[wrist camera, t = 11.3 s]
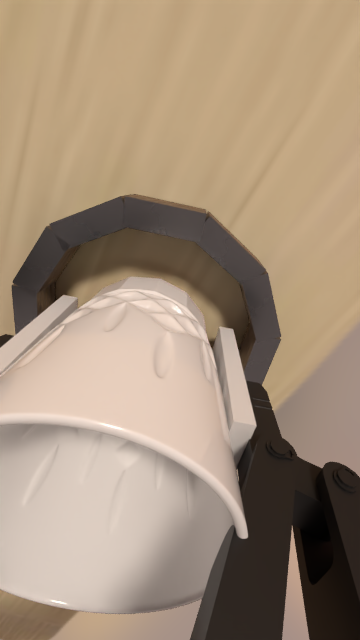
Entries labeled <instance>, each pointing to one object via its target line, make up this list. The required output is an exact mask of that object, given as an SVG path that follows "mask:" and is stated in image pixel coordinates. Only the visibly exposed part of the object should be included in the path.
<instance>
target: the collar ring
mask: <svg viewBox="0 0 360 640" xmlns="http://www.w3.org/2000/svg"><path fill="white" fill-rule="evenodd" d="M127 227H128V228H132V229H137V230H142V231H147V232H151V233H156V234H161V235H165V236H170V237H175V238H179V239H184V240H189V241H193V242H196V243H197V244H198V245H199V246H200V247H201V248H202V249H203V250H204V251H205V252H206V253H208V254H209V255H210V256H211V257H212V258H213V259H214V260H215V261H216V262H217V263H218V264H219V265H221V266H222V267H223V268H224V269H225V270H226V271H227V272H228V273H229V274H230V275H231V276H233V277H234V278H235V279H236V280H237V281H238V282H239V283H240V287H241V291H242V294H243V298H244V302H245V306H246V310H247V314H248V318H249V324H248V326H247V329H246V332H245V335H244V338H243V341H242V344H241V347H240V349H239V355H240V359H241V364H242V368H243V372H244V376H245V380H246V381H251V382H257V383H260V384H261V385H262V383H263V381H264V379H265V376H266V374H267V371H268V369H269V367H270V364H271V362H272V360H273V357H274V355H275V353H276V350H277V348H278V345H279V343H280V341H281V339H280V337H281V333H280V329H279V324H278V319H277V314H276V310H275V305H274V300H273V295H272V291H271V286H270V281H269V276H268V273H267V272H266V269H265V268H264V267H263V265H262V264H261V263H260V262H259V260H258V259H257V258H256V257H255V256H254V255H253V254H252V253H251V252H250V251H249V250H248V249H247V248H246V247H245V246H244V245H243V244H242V243H241V242H240V241H239V240H238V239H237V238H236V237H235V236H234V235H232V234H231V233H230V232H229V231H228V230H227V229H226V228H225V227H224V226H223V225H222V224H221V223H220V222H219V221H218V220H217V219H216V218H215V217H214V216H213V215H212V214H211V213H210V212H208V213H207V214H206V210H205V209H201V208H196V207H192V206H187V205H182V204H178V203H173V202H169V201H164V200H159V199H155V198H150V197H146V196H141V195H136V194H133V195H125V196H120V197H118V198H115V199H113V200H110V201H107V202H105V203H102V204H100V205H97V206H95V207H92V208H89V209H87V210H84V211H82V212H79V213H76V214H74V215H71V216H69V217H66V218H64V219H61V220H58V221H56V222H53V223H51V224H50V226H46V228H45V230H44V231H43V233H42V234H41V236H40V238H39V239H38V241H37V243H36V244H35V246H34V247H33V249H32V251H31V252H30V254H29V256H28V257H27V259H26V261H25V262H24V264H23V265H22V267H21V269H20V270H19V272H18V274H17V275H16V277H15V278H14V280H13V283H14V284H13V285H12V297H13V309H14V321H15V333H16V334H17V333H19V332H20V331H21V330H22V329H23V328H25V327H26V326H27V325H28V324H29V323H30V322H32V321H33V320H34V319H35V318H36V317H38V316H39V315H40V314H41V313H42V312H44V311H45V310H46V309H47V308H48V307H49V306H51V305H52V304H53V303H54V302H55V301H56V280H57V279H58V277H59V276H60V274H61V273H62V271H63V270H64V269H65V267H66V266H67V264H68V263H69V261H70V260H71V258H72V257H73V256H74V254H75V253H76V251H77V250H78V248H79V247H80V245H81V244H83V243H86V242H88V241H91V240H94V239H97V238H99V237H102V236H105V235H108V234H110V233H113V232H116V231H119V230H121V229H124V228H127Z"/></svg>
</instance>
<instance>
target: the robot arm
mask: <svg viewBox="0 0 360 640" xmlns="http://www.w3.org/2000/svg"><path fill="white" fill-rule="evenodd" d="M77 307H78V298H77V297H72V296H67V295H63V296H61V297H60V298H59V299H58V300H57V301H55V302H54V303H53V304H52V305H51V306H49V307H48V308H47V309H46V310H45V311H44V312H42V313H41V314H40V315H39V316H38V317H36V318H35V319H34V320H33V321H32V322H30V323H29V324H28V325H27V326H26V327H25V328H23V329H22V330H21V331H20V332H19V333H17V334H16V335H15V336H12V335H7V334H5V335H2V336H0V375H1V374H2V373H3V372H4V371H6V370H7V369H8V368H9V367H10V366H11V365H12V364H13V363H15V362H16V361H17V360H18V359H19V358H20V357H21V356H22V355H24V354H25V353H26V352H27V351H28V350H29V349H30V348H31V347H33V346H34V345H35V344H36V343H37V342H38V341H39V340H40V339H42V338H43V337H44V336H45V335H46V334H47V333H48V332H49V331H51V330H52V329H53V328H54V327H56V326H57V325H59V324H60V323H61V322H62V321H63V320H65V319H66V318H67V317H68V316H69V315H70V314H71V313H73V312H74V311H75V310H76V309H77ZM212 350H213V354H214V359H215V363H216V368H217V372H218V379H219V382H220V386H221V390H222V394H223V400H224V406H225V412H226V417H227V423H228V429H229V434H230V439H231V445H232V450H233V455H234V460H235V466H236V470H237V469H238V476H239V487H240V492H241V498H242V503H243V508H244V514H245V519H246V524H247V530H248V538H246V539H242V538H240V537H238V535H237V534H236V530H235V526H234V525H232V526H231V527H230V528H229V530H228V532H227V534H226V535H225V538H224V540H223V542H222V544H221V546H220V549H219V551H218V554H217V556H216V559H215V561H214V564H213V566H212V569H211V572H210V575H209V578H208V582H207V585H206V588H205V592H204V595H203V598H202V602H201V605H200V608H199V612H198V615H197V618H196V621H195V625H194V628H193V632H192V635H191V638H190V640H282V632H283V620H284V609H285V597H286V587H287V575H288V564H289V552H290V541H291V529H292V526H293V532H294V539H295V546H296V552H297V559H298V566H299V572H300V579H301V586H302V593H303V599H304V606H305V613H306V619H307V626H308V632H309V639H310V640H360V477H359V476H358V475H357V474H356V473H355V472H354V471H352V470H351V469H350V468H348V467H347V466H345V465H342V464H340V463H337V462H328V463H326V464H325V465H324V467H323V468H320V467H317V466H315V465H313V464H311V463H309V462H307V461H304V460H303V459H301V458H299V457H298V456H297V454H296V452H295V450H294V448H293V447H292V446H291V445H290V444H289V443H288V442H287V441H286V440H285V439H283V438H282V437H281V434H280V430H279V427H278V425H277V421H276V418H275V415H274V412H273V410H272V406H271V403H270V400H269V397H268V394H267V392H266V390H265V389H264V388H263V387H262V385H261V384H260V383H257V382H251V381H246V380H245V376H244V372H243V368H242V364H241V359H240V355H239V351H238V347H237V343H236V339H235V335H234V331H233V329H230V328H225V327H220V326H219V329H218V332H217V336H216V339H215V343H214V346H213V349H212Z"/></svg>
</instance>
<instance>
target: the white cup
mask: <svg viewBox="0 0 360 640" xmlns="http://www.w3.org/2000/svg"><path fill="white" fill-rule="evenodd" d="M232 525H234V526H235V530H236V534H237V535H238V537H240V538H242V539H246V538H248V530H247V524H246V519H245V514H244V508H243V503H242V498H241V492H240V487H239V482H238V476H237V471H236V466H235V460H234V455H233V450H232V445H231V439H230V434H229V429H228V423H227V417H226V412H225V406H224V400H223V394H222V390H221V386H220V382H219V379H218V372H217V368H216V363H215V359H214V354H213V350H212V348H211V346H210V344H209V341H208V337H207V332H206V326H205V319H204V315H203V313H202V312H201V311H200V309H199V308H198V307H197V305H196V304H195V303H194V301H193V300H192V299H191V297H190V296H189V295H188V293H187V292H185V291H183V290H181V289H180V288H178V287H176V286H174V285H172V284H170V283H168V282H166V281H165V280H163V279H161V278H147V277H128V278H125V279H123V280H120V281H118V282H116V283H113V284H111V285H108V286H106V287H104V288H103V289H101V290H100V291H99V292H98V293H97V294H96V295H95V296H94V297H93V298H92V299H91V300H90V301H88V302H87V303H85V304H84V305H82V306H81V307H79V308H78V309H76V310H75V311H74V312H73V313H71V314H70V315H69V316H68V317H67V318H66V319H65V320H63V321H62V322H61V323H60V324H59V325H57V326H56V327H54V328H53V329H52V330H51V331H49V332H48V333H47V334H46V335H45V336H44V337H43V338H42V339H40V340H39V341H38V342H37V343H36V344H35V345H34V346H33V347H31V348H30V349H29V350H28V351H27V352H26V353H25V354H24V355H22V356H21V357H20V358H19V359H18V360H17V361H16V362H15V363H13V364H12V365H11V366H10V367H9V368H8V369H7V370H6V371H4V372H3V373H2V374H1V375H0V590H2V591H5V592H7V593H10V594H13V595H15V596H18V597H21V598H24V599H27V600H31V601H34V602H38V603H41V604H45V605H50V606H54V607H59V608H64V609H69V610H76V611H83V612H93V613H105V614H135V613H148V612H156V611H162V610H168V609H172V608H177V607H180V606H184V605H187V604H190V603H192V602H195V601H198V600H200V599H202V598H203V595H204V592H205V588H206V585H207V582H208V578H209V575H210V572H211V569H212V566H213V564H214V561H215V559H216V556H217V554H218V551H219V549H220V546H221V544H222V542H223V540H224V538H225V535H226V534H227V532H228V530H229V528H230V527H231V526H232Z"/></svg>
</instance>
